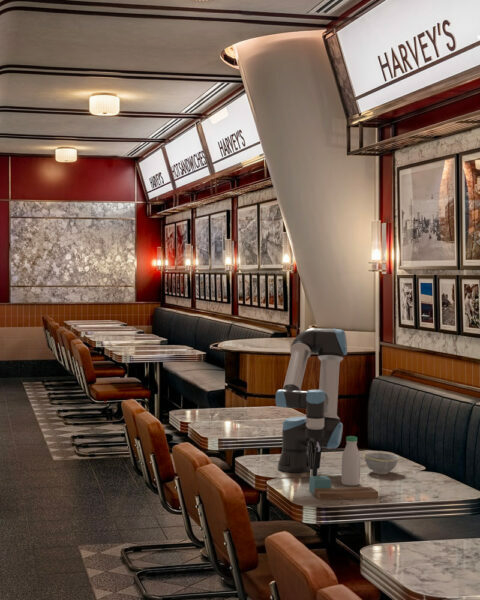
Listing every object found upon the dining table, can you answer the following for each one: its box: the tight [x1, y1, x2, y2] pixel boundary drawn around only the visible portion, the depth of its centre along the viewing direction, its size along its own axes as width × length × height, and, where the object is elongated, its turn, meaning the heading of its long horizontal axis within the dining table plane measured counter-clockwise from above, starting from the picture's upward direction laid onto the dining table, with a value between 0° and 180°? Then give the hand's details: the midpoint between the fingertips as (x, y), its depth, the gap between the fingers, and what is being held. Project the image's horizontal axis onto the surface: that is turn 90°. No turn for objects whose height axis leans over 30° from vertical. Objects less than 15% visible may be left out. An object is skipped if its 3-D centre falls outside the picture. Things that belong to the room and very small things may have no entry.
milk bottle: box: [340, 435, 361, 487], centre depth 372 cm, size 8×8×20 cm
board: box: [313, 486, 379, 501], centre depth 351 cm, size 8×24×2 cm, turn 102°
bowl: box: [363, 452, 400, 475], centre depth 395 cm, size 16×16×8 cm
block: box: [308, 475, 332, 495], centre depth 356 cm, size 7×7×6 cm
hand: (313, 484), depth 366 cm, fingers closed
